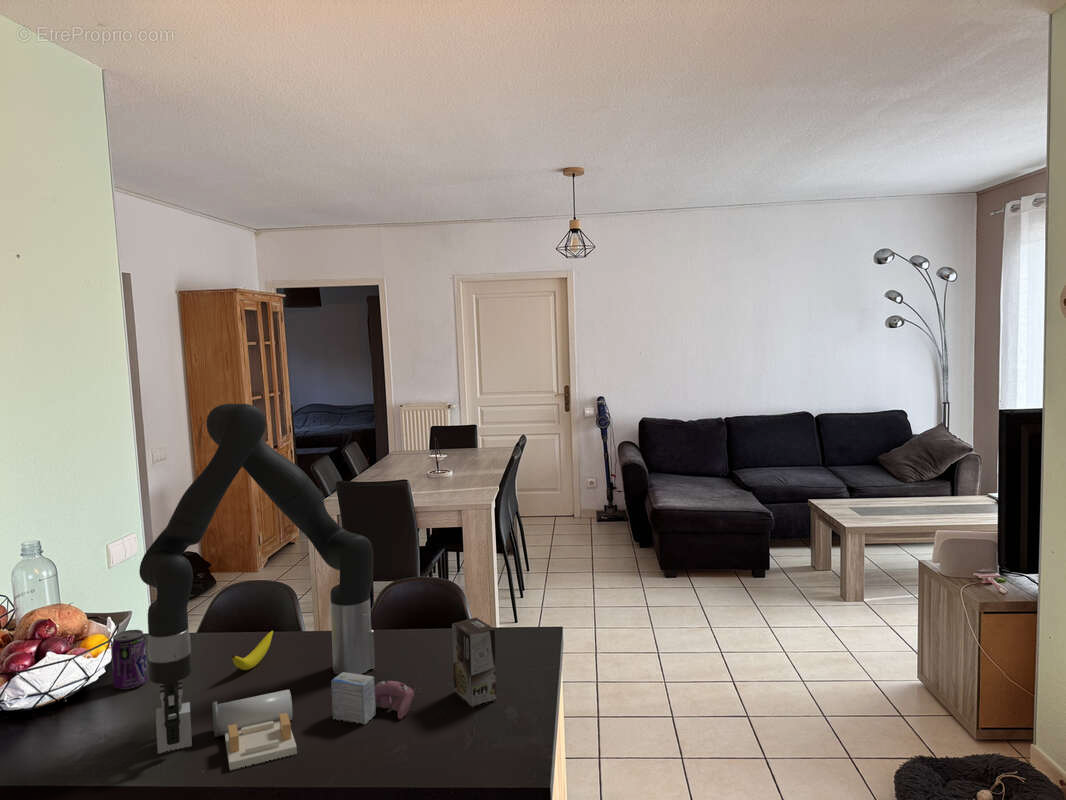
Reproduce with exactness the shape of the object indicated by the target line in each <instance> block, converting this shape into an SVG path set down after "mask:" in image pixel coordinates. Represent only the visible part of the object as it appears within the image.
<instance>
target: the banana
mask: <svg viewBox="0 0 1066 800" xmlns="http://www.w3.org/2000/svg"><path fill="white" fill-rule="evenodd" d="M273 634H274V630H271V631H270V632H268V633H267V634H266V635H265V636H264V638H262V640H261V641H260V642H259V643H258V644H257V645H256V646H255V648H254V649H253V650H252V651H251V652H249V654H248V655H246V656H245V657H240V656H237V655H235V654H232V655H231V658H232V661H233V662H232V663H233V664H234V666H235V667H236V668H239V669H240V670H243V671H248V670H250V669H254V667H256V666H258V664H260V662H261V660H262V659H264V657H265V655H266V654H267V652H268V651H269V649H270V646H271V642H272V638H273Z"/></svg>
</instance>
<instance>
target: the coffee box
mask: <svg viewBox="0 0 1066 800" xmlns="http://www.w3.org/2000/svg"><path fill="white" fill-rule="evenodd" d="M451 629H452V631H451V633H452V635H451V636H452V660H453V661H452V662H453V663H452V664H453V685H454V686H453V690H454V691H455V692H456V693H458V694H459V695H460V696H461V697H462V698H463V699H465V700H466V701H467V702H468V703H469V704H470V705H471V706H473V705H477V704H481V703H484V702H487V701H491V700H493V699H496V700H497V674H496V670H497V668H496V666H497V665H496V662H497V661H496V628H494V627H492V626H490V624H488V623H487V622H485V621H483V620H481V619H480V618H477V617H471V618H467V619H464V620H461V621H457V622H453V623H451ZM455 692H454V693H455ZM456 693H455V694H456ZM463 699H462V700H463ZM469 704H468V705H469ZM470 705H469V706H470ZM471 706H470V707H471Z"/></svg>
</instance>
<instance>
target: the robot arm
mask: <svg viewBox="0 0 1066 800" xmlns="http://www.w3.org/2000/svg"><path fill="white" fill-rule="evenodd" d="M206 417H207V418H206V430H207V432H208V436H209V437H210V438H211V440H212V441H213V442H214V443H215V444H216V445H217V448H216V450H215V453H214V455H213V456H212V458H211V460H210V461H209V463H208V464H207V466H206V467H205V468H204V469H203V470H202V471H201V473H200V474H199V475H198V477H196V479H194V481H192V483H191V484H190V485H189V487H188V488H187V489H186V490H185V491H184V493H183V494H182V496H181V498H180V499H179V501H178V503H177V506H176V507H175V509H174V511H173V513H172V515H171V517H170V519H169V521H168V524H167V525H166V526H165V528H164V529H163V530H162V532H161V533H160V534H159V535H158V536H157V537H156V539H155V540H154V541H153V543H152V544H151V545H150V547H149V548H148V549H147V550H146V552H145V553H144V555H143V557H142V560H141V561H140V564H139V572H138V573H139V577H140V580H141V582H143V583H144V584H146V585H148V586H150V587H153V588H156V600H155V601H153V602H152V603H151V604H150V605H149V606H148V609H147V630H148V631H147V633H148V635H147V636H148V637H147V666H148V679H149V681H150V682H151V683H153V684H157V685H158V684H159V689H160V690H159V698H160V700H161V708H162V714H163V715H165V722H164V726H165V728H166V733H167V744H168V745H172V744H176V743H179V741H180V735H179V724H180V719H179V712H180V711H181V710H182V697H183V681H182V680H185V679H186V678H187V677H189V676H190V675H191V673H192V668H193V667H192V648H191V645H192V644H191V636H190V631H189V630H190V629H189V616H188V615H189V613H188V604H189V601H190V597H191V592H192V587H193V581H194V572H193V566H192V564H191V563H190V560H189V559H188V558H187V557H185V556H184V555H183V554H184V553H185V552H186V551H187V549H188V548H189V547H190V546H193V545H194V546H195V545H198V544H200V542H202V541H201V540H202V539H203V538H204V537H205V536H204V535H205V533H206V531H207V529H208V528H209V526H210V524H211V521H212V519H213V517H214V515H215V512H216V511H217V510H218V507H219V505H220V503H221V501H222V499H223V498H224V496H225V494H226V492H227V491H228V490H229V488H230V485H231V484H232V483H233V481H234V480H235V478H236V476H237V475H238V473H239V472H240V470H241V469H242V468H243V469H244V470H245V471H246V472H247V473H248V475H249V476H250V477H251V479H252V480H253V481H254V482H255V483H256V485H258V486H259V488H260V489H261V490H262V491H263V492H264V493H265V494H266V496H267V497H268V498H269V499H270V501H272V503H273V504H274V505H275V506H276V507H277V508H278V509H279V510H280V511H281V512H282V513H283V515H285V517H287V518H288V519H289V520H290V522H291V523H293V524H294V525H295V527H296V528H298V529H299V530H300V532H302V533H303V534H304V535H305V537H307V539H308V540H309V541H310V543H311V545H313V547H314V548H315V550H316V551H317V553H318V555H320V556H319V557H321V559H322V560H323V561H324V562H325V563H326V564H327V565H328V566H329V567H330V568H332V569H334V570H337V571H339V584H336V585H335V586H333V587H332V588H331V589H330V615H331V616H330V617H331V620H330V621H331V644H332V645H331V646H332V650H331V651H332V671H334V672H333V674H335V675H337V674H338V675H339V674H341V673H342V672H346V673H354V674H361V675H363V674H362V673H364V674H366V673H368V672H369V671H368V670H370V669H373V670H375V669H374V668H375V666H376V665H375V664H376V663H375V643H374V642H375V639H374V635H375V633H374V630H373V629H372V628H373V627H372V619H371V618H372V617H371V615H372V614H371V590H372V588H373V583H374V582H373V581H374V549H373V545H372V542H371V541H370V539H368V537H366V536H364V535H361V534H357V533H353V532H351V531H348V530H346V529H345V528H343V527H342V526H340V524H338V522H336V521H335V520H334V518H333V517H332V516H331V515H330V514H329V513H328V511H327V509H326V505H325V501H324V498H323V495H322V494H321V491H320V490H319V488H318V486H317V485H316V484H315V483H314V482H313V480H312V479H311V478H310V477H309V475H307V474H306V472H305V471H304V470H302V469H301V468H300V467H299V466H298V465H297V464H295V463H294V462H293V461H291V460H290V459H288V458H287V457H285V456H284V455H283V454H281V453H280V452H277V450H275V449H273V448H272V447H271V446H270V445H269V444H267V442H266V441H264V440H263V436H264V435H265V434H264V433H265V431H266V425H267V424H266V423H267V422H266V418H265V415H264V413H263V412H262V410H261V409H260V408H259V407H258V406H255V405H254V404H248V403H224V404H221V405H220V404H219V405H217V406H215V407H214V408H212V409H211V410H210V412H209V413H208V414H207V416H206ZM367 671H368V672H367ZM370 671H371V670H370ZM365 672H366V673H365ZM338 675H337V676H338ZM178 700H179V702H178ZM170 714H176V718H174V719H169V720H168V715H170Z"/></svg>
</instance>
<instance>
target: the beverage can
mask: <svg viewBox="0 0 1066 800" xmlns="http://www.w3.org/2000/svg"><path fill="white" fill-rule="evenodd" d="M146 640H147V639H146V637H145V636H144V631H143V630H141V629H128V630H124V631H120V632H118V633H116V634H114V635H112V642H111V644H110V650H111V651H110V652H111V653H110V654H111V669H112V683H113V684H112V685H113V687H114V688H116V689H119V690H131V688H132V689H136V688H138V687H140V686H141V685H143V684H144V683H146V682H147V681H148V679H149V671H148V654H147V641H146ZM135 687H136V688H135Z"/></svg>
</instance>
